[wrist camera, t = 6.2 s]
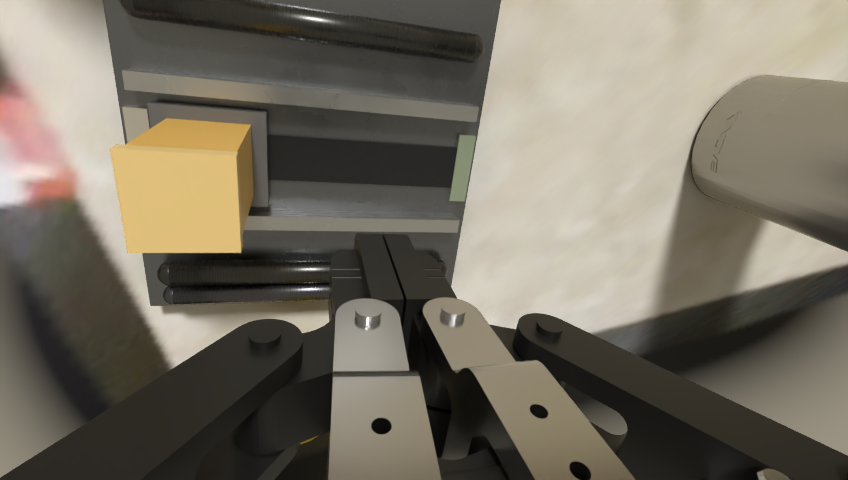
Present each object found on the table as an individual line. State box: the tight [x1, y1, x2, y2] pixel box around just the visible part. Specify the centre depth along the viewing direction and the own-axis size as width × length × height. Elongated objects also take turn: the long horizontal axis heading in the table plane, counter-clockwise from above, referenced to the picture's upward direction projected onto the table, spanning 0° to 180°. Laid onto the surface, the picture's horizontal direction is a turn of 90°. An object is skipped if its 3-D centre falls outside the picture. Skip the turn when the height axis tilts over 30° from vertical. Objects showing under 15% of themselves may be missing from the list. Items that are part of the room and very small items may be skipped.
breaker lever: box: [110, 101, 269, 253], centre depth 18 cm, size 5×5×7 cm
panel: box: [103, 0, 501, 306], centre depth 23 cm, size 18×18×3 cm
